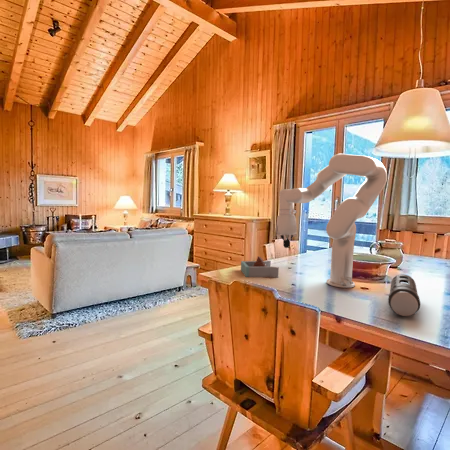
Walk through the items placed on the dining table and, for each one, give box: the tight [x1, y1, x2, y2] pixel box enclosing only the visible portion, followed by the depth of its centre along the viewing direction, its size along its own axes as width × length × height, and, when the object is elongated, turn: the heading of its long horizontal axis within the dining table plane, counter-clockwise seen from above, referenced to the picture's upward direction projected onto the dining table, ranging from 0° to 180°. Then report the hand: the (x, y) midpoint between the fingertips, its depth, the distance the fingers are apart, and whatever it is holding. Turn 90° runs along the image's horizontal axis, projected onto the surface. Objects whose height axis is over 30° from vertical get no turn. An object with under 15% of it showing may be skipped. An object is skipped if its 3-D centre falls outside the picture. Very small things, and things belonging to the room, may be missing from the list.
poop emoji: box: [252, 256, 267, 267], centre depth 165 cm, size 10×8×9 cm
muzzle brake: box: [387, 273, 421, 317], centre depth 118 cm, size 10×28×10 cm, turn 151°
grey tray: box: [240, 260, 280, 278], centre depth 166 cm, size 18×17×5 cm
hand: (286, 247), depth 166 cm, fingers closed
